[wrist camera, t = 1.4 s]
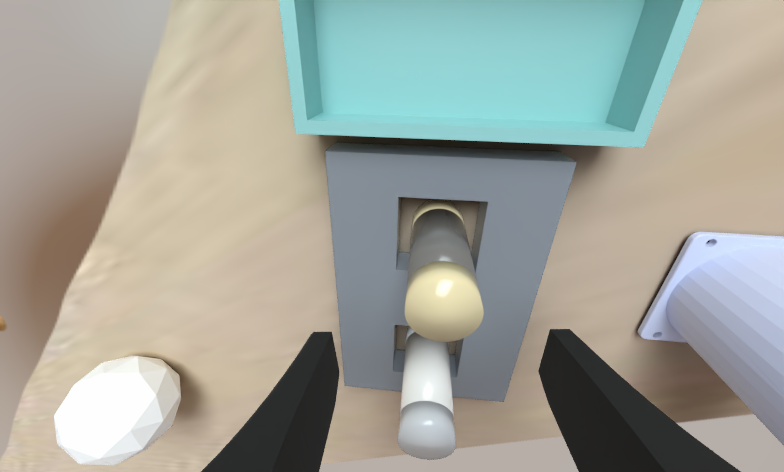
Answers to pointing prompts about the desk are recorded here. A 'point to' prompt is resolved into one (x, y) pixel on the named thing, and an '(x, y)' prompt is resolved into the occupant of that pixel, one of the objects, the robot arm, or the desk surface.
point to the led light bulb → (441, 275)
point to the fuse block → (489, 253)
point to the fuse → (426, 399)
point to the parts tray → (483, 68)
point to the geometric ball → (118, 410)
